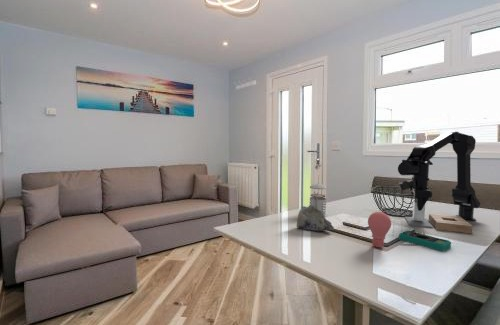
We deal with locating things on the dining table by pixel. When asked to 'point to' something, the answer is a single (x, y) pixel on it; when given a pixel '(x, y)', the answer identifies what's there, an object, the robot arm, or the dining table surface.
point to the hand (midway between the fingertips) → (418, 209)
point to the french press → (318, 197)
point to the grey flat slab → (418, 222)
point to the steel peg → (418, 212)
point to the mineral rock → (312, 219)
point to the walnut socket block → (450, 223)
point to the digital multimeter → (425, 240)
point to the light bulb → (379, 227)
